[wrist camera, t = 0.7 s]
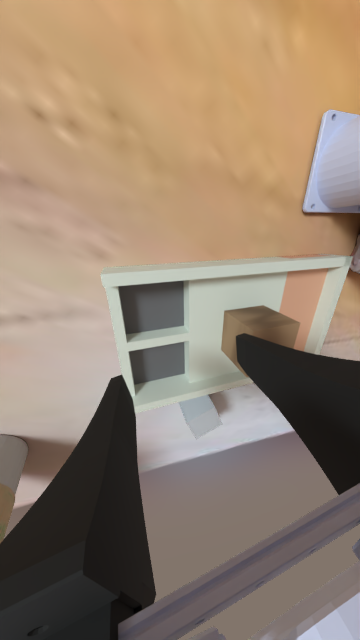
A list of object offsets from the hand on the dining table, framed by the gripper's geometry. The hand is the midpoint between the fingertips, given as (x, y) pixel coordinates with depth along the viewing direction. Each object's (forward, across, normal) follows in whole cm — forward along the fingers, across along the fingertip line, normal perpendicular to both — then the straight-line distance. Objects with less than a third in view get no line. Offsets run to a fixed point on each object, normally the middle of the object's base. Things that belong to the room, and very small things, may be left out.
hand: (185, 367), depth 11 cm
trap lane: (+10, -8, +4) cm, 13 cm away
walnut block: (+8, -9, +4) cm, 13 cm away
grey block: (+10, -2, +15) cm, 18 cm away
